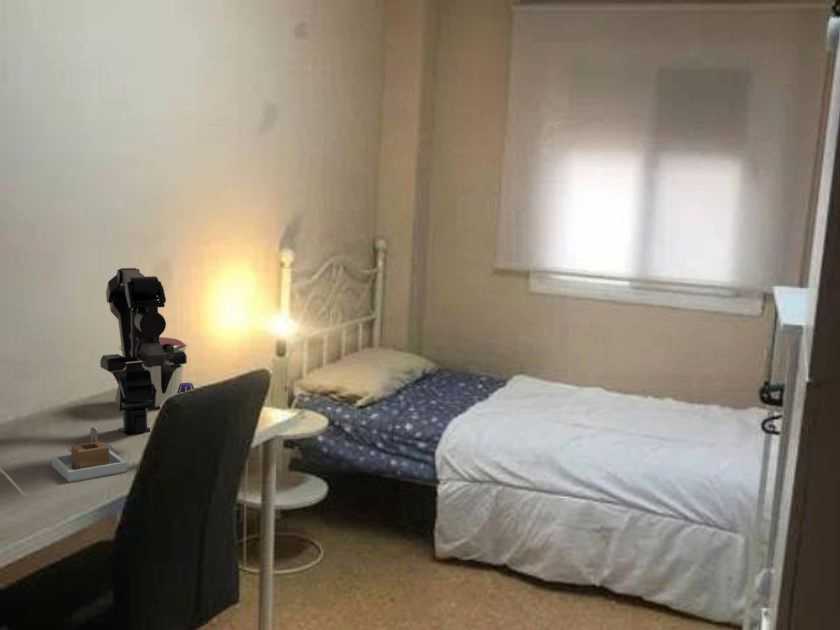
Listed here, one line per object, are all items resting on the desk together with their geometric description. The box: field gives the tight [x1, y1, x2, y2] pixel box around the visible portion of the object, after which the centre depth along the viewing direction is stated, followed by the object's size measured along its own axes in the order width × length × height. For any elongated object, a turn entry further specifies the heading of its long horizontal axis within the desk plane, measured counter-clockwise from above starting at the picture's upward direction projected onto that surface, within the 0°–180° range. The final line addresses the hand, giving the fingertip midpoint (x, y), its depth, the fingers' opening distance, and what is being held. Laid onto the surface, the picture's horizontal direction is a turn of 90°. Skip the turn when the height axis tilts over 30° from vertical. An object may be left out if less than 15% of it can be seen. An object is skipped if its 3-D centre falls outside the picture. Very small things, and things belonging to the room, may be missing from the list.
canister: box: [118, 335, 188, 409], centre depth 247 cm, size 18×18×21 cm
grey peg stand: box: [67, 426, 121, 455], centre depth 202 cm, size 9×9×6 cm
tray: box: [51, 450, 128, 483], centre depth 190 cm, size 12×12×2 cm
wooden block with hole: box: [70, 440, 109, 470], centre depth 190 cm, size 8×6×5 cm
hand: (144, 395), depth 208 cm, fingers open, 9 cm apart
